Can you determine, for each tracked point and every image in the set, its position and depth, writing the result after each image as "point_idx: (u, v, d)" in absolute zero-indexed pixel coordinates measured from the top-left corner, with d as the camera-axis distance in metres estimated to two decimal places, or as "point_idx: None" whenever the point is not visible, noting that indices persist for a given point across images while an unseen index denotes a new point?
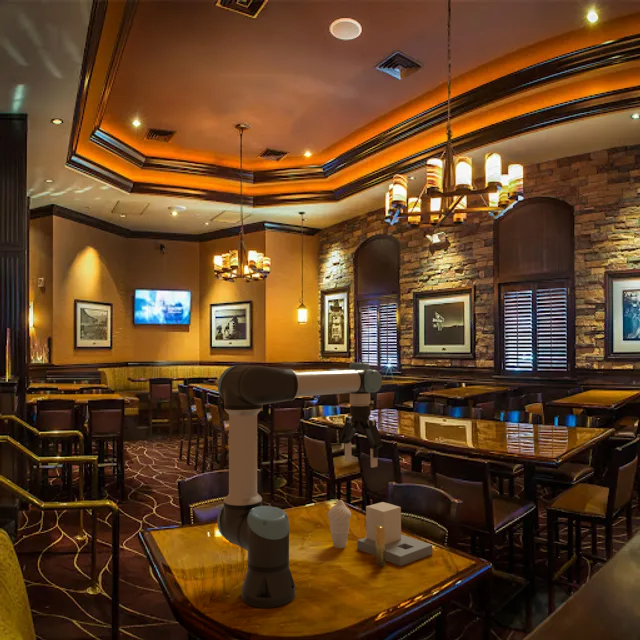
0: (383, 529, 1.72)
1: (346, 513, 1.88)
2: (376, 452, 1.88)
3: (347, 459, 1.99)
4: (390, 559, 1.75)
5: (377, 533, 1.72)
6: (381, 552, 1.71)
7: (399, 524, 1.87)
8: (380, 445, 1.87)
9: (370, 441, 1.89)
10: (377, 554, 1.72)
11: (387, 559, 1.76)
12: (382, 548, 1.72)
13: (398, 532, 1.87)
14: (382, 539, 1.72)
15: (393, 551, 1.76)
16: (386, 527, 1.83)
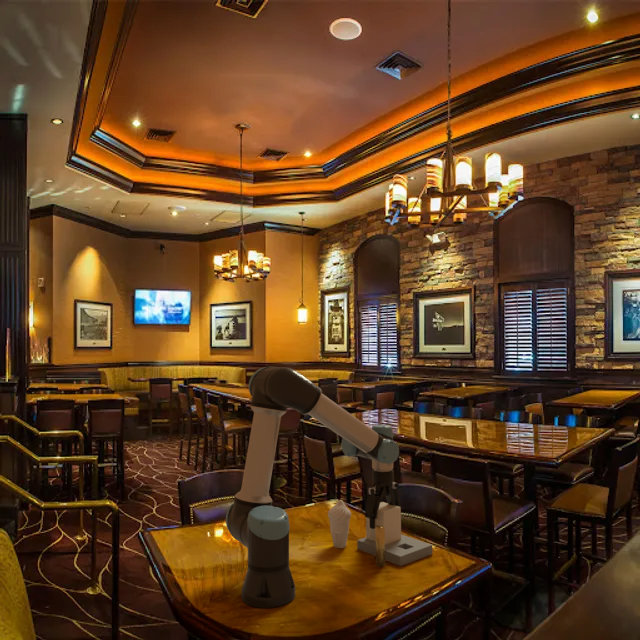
0: (383, 529, 1.72)
1: (346, 513, 1.88)
2: (370, 522, 1.85)
3: None
4: (390, 559, 1.75)
5: (377, 533, 1.72)
6: (381, 552, 1.71)
7: (399, 524, 1.87)
8: (367, 516, 1.84)
9: None
10: (377, 554, 1.72)
11: (387, 559, 1.76)
12: (382, 548, 1.72)
13: (398, 532, 1.87)
14: (382, 539, 1.72)
15: (393, 551, 1.76)
16: (386, 527, 1.83)
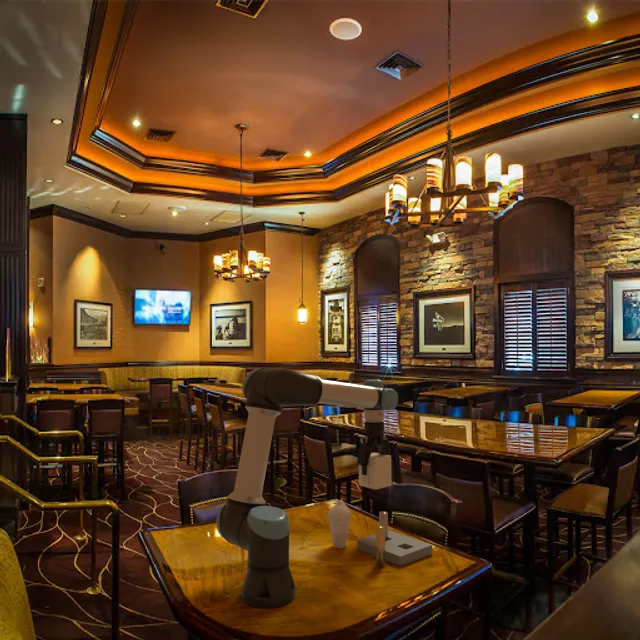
0: (383, 529, 1.72)
1: (346, 513, 1.87)
2: (362, 469, 1.97)
3: None
4: (390, 559, 1.75)
5: (377, 533, 1.72)
6: (381, 552, 1.71)
7: (389, 472, 2.00)
8: (359, 463, 1.96)
9: None
10: (377, 554, 1.72)
11: (387, 559, 1.76)
12: (382, 548, 1.72)
13: (388, 479, 1.99)
14: (382, 539, 1.72)
15: (393, 551, 1.76)
16: (377, 473, 1.96)
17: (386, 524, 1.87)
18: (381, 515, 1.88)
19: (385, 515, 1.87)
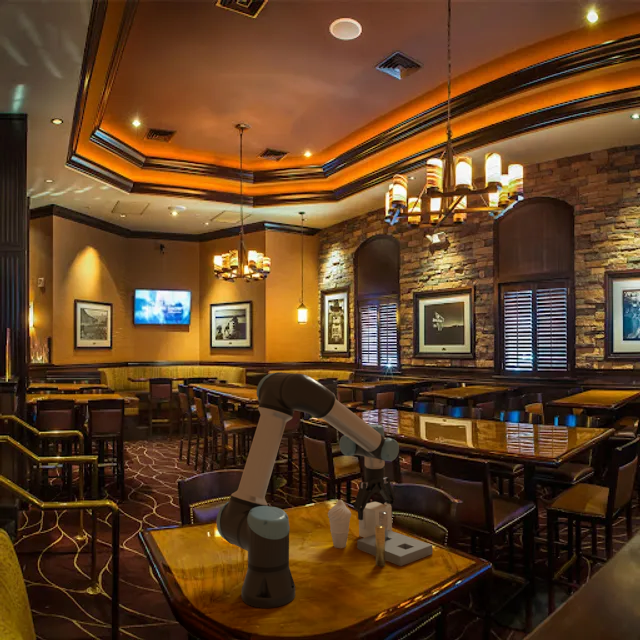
0: (383, 529, 1.72)
1: (346, 513, 1.87)
2: (358, 514, 1.95)
3: None
4: (390, 559, 1.75)
5: (377, 533, 1.72)
6: (381, 552, 1.71)
7: (390, 523, 1.99)
8: (355, 508, 1.94)
9: None
10: (377, 554, 1.72)
11: (387, 559, 1.76)
12: (382, 548, 1.72)
13: None
14: (382, 539, 1.72)
15: (393, 551, 1.76)
16: None
17: (386, 524, 1.87)
18: (381, 515, 1.88)
19: (385, 515, 1.87)
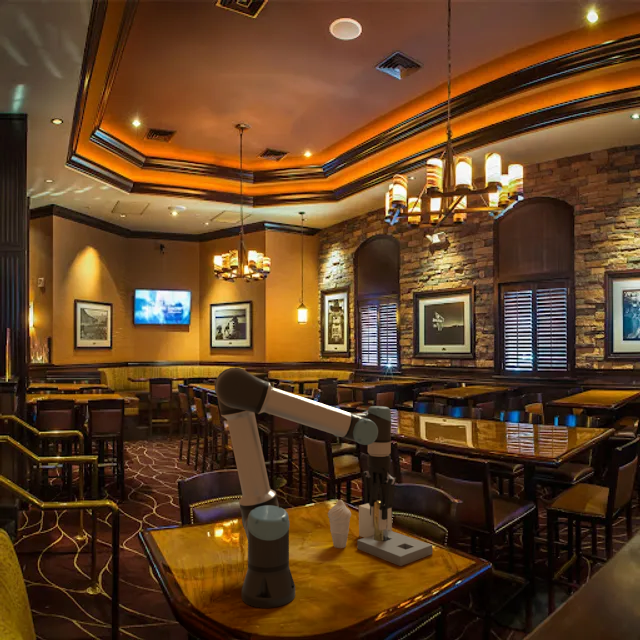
0: None
1: (346, 513, 1.87)
2: (385, 513, 1.71)
3: None
4: (390, 559, 1.75)
5: (376, 508, 1.73)
6: None
7: (390, 523, 1.99)
8: (389, 507, 1.70)
9: (381, 500, 1.71)
10: (375, 529, 1.72)
11: (387, 559, 1.76)
12: None
13: None
14: None
15: (393, 551, 1.76)
16: None
17: (386, 524, 1.87)
18: None
19: None
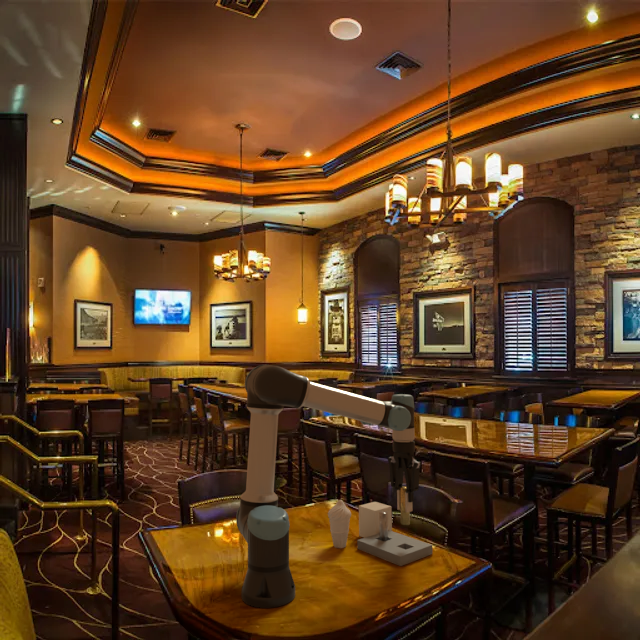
0: None
1: (346, 513, 1.88)
2: (411, 496, 1.79)
3: (400, 507, 1.82)
4: (390, 559, 1.75)
5: (402, 493, 1.80)
6: None
7: (390, 523, 1.99)
8: (415, 490, 1.78)
9: (407, 483, 1.79)
10: (402, 513, 1.80)
11: (387, 559, 1.76)
12: None
13: None
14: None
15: (393, 551, 1.76)
16: (377, 525, 1.95)
17: (386, 524, 1.87)
18: (381, 515, 1.88)
19: (385, 515, 1.87)
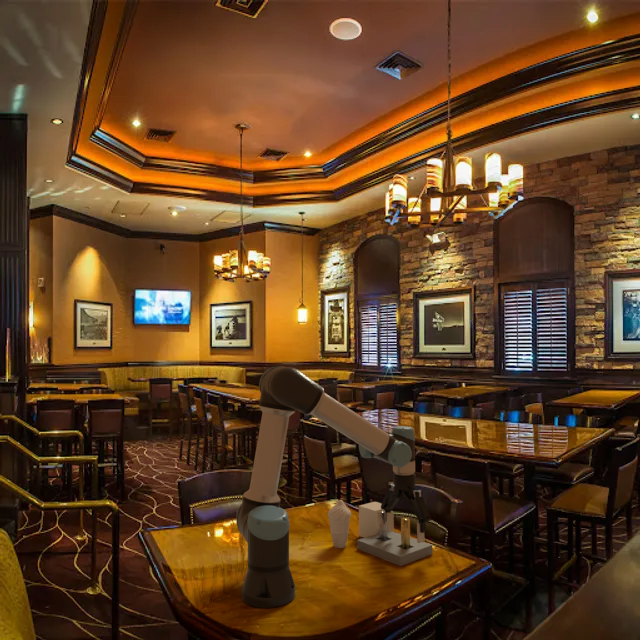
0: (408, 521, 1.80)
1: (346, 513, 1.87)
2: (423, 526, 1.74)
3: (389, 529, 1.85)
4: (390, 559, 1.75)
5: (403, 525, 1.80)
6: (406, 543, 1.79)
7: None
8: (428, 519, 1.73)
9: (416, 514, 1.76)
10: (402, 545, 1.80)
11: (387, 559, 1.76)
12: (407, 539, 1.79)
13: None
14: (407, 531, 1.80)
15: (393, 551, 1.76)
16: (377, 525, 1.95)
17: (385, 523, 1.88)
18: (379, 514, 1.88)
19: (383, 514, 1.88)
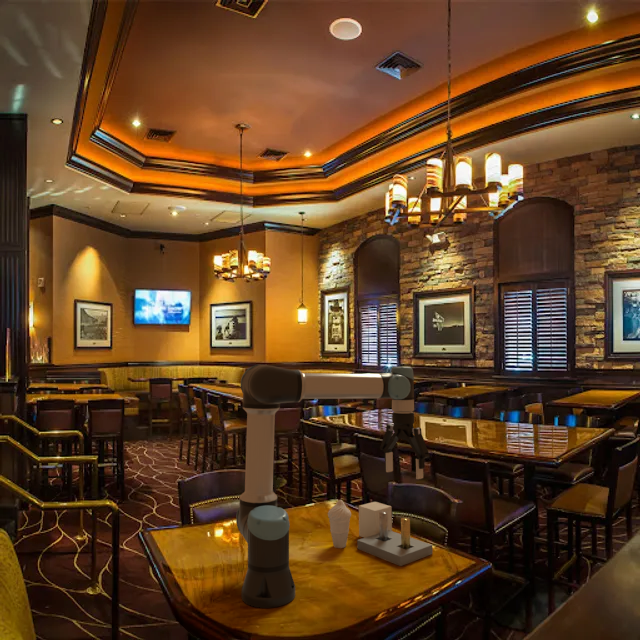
0: (408, 521, 1.80)
1: (346, 513, 1.87)
2: (422, 463, 1.76)
3: (388, 469, 1.87)
4: (390, 559, 1.75)
5: (403, 525, 1.80)
6: (406, 543, 1.79)
7: (390, 523, 1.99)
8: (427, 455, 1.75)
9: (415, 451, 1.77)
10: (402, 545, 1.80)
11: (387, 559, 1.76)
12: (407, 539, 1.79)
13: None
14: (407, 531, 1.80)
15: (393, 551, 1.76)
16: (377, 525, 1.95)
17: (386, 524, 1.87)
18: (381, 515, 1.88)
19: (385, 515, 1.87)
